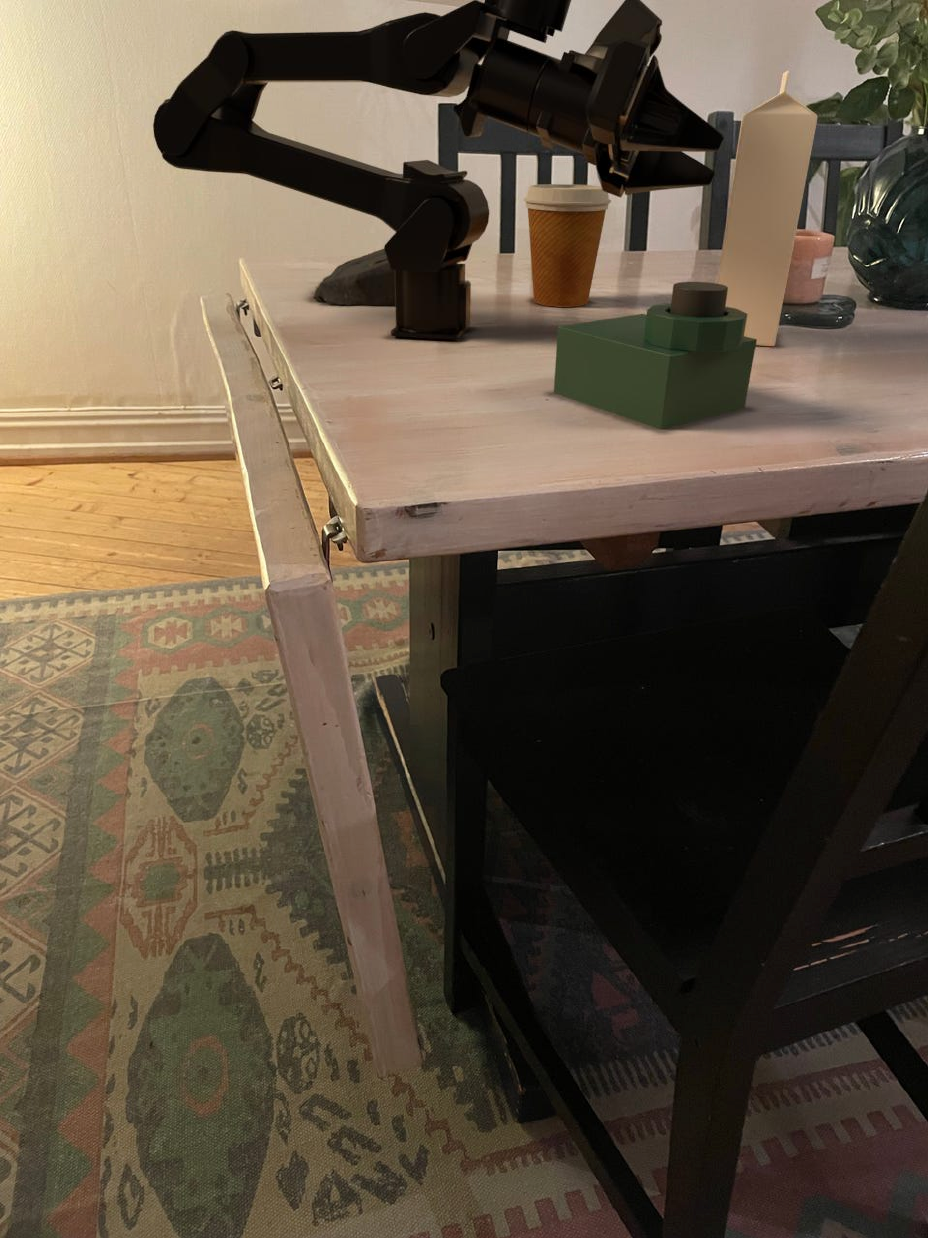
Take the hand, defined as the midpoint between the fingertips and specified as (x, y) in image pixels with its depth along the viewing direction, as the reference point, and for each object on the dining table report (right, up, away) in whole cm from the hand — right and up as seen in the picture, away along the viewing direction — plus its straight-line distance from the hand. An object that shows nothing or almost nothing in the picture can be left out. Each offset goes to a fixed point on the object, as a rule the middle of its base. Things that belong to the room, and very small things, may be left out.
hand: (716, 162), depth 70 cm
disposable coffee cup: (-9, -1, +30) cm, 31 cm away
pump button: (-5, -17, -11) cm, 21 cm away
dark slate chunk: (-31, +3, +36) cm, 47 cm away
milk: (+6, -10, +14) cm, 18 cm away
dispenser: (-7, -21, -5) cm, 23 cm away
